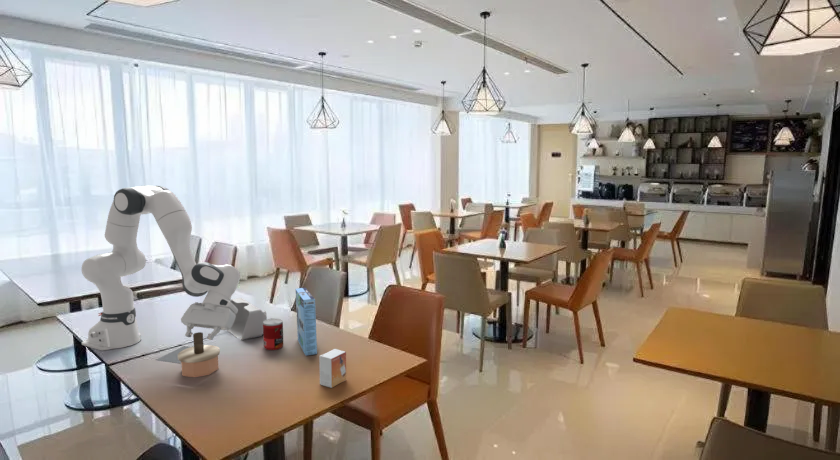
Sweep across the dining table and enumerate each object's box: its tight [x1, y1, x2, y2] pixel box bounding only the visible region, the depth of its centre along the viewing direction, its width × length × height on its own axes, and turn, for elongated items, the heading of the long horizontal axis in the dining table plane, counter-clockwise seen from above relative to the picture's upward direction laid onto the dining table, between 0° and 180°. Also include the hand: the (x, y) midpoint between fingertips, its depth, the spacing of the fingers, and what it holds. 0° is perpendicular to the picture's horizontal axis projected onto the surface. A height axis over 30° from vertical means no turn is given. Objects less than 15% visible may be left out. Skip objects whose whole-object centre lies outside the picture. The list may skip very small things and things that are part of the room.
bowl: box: [180, 355, 219, 378], centre depth 177 cm, size 12×12×6 cm
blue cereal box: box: [295, 287, 318, 357], centre depth 200 cm, size 20×5×23 cm, turn 23°
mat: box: [155, 345, 191, 365], centre depth 191 cm, size 15×15×1 cm
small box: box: [318, 348, 347, 389], centre depth 169 cm, size 8×6×10 cm
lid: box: [178, 331, 221, 363], centre depth 177 cm, size 14×14×8 cm
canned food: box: [262, 318, 284, 351], centre depth 200 cm, size 8×8×11 cm
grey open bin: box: [226, 297, 268, 341], centre depth 221 cm, size 25×16×12 cm, turn 40°
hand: (198, 337), depth 176 cm, fingers open, 8 cm apart
